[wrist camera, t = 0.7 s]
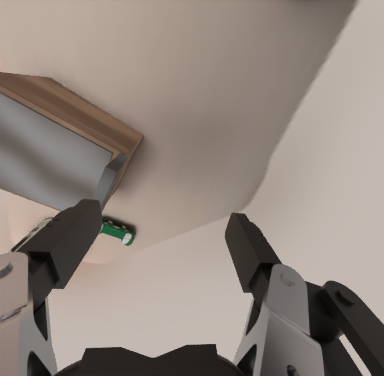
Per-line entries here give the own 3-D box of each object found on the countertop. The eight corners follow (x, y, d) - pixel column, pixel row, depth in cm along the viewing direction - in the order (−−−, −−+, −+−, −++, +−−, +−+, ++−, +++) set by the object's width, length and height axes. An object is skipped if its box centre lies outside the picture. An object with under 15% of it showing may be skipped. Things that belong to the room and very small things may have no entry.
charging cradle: (45, 75, 20) (-119, 53, 9) (146, 137, 24) (116, 172, 14) (32, 152, 25) (-82, 197, 14) (117, 192, 29) (80, 248, 19)
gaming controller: (136, 230, 38) (139, 232, 32) (129, 245, 36) (131, 251, 31) (97, 215, 35) (93, 215, 29) (88, 232, 34) (82, 235, 28)
